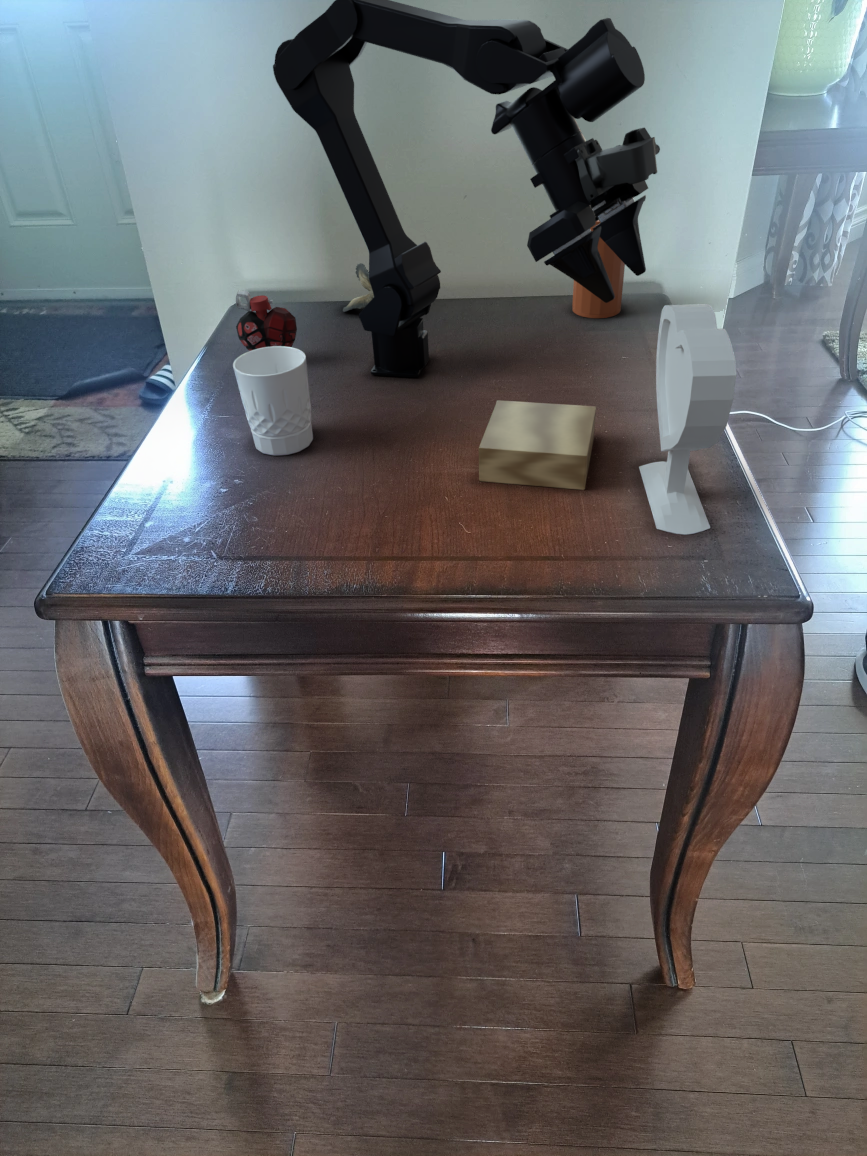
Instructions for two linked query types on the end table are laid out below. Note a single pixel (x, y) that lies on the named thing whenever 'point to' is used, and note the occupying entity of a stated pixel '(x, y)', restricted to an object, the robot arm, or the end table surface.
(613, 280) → the jar
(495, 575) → the end table surface
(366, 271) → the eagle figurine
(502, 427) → the birch block
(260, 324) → the grenade
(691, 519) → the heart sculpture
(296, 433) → the white cup
